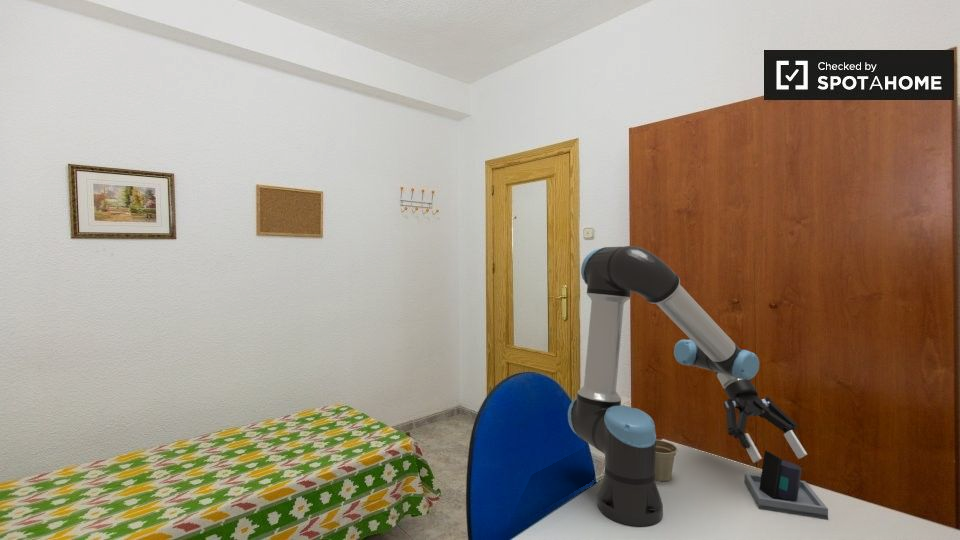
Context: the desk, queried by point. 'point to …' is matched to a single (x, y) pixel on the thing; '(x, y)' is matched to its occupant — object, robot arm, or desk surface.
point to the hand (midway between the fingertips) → (780, 458)
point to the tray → (802, 506)
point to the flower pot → (664, 460)
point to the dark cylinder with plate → (780, 478)
